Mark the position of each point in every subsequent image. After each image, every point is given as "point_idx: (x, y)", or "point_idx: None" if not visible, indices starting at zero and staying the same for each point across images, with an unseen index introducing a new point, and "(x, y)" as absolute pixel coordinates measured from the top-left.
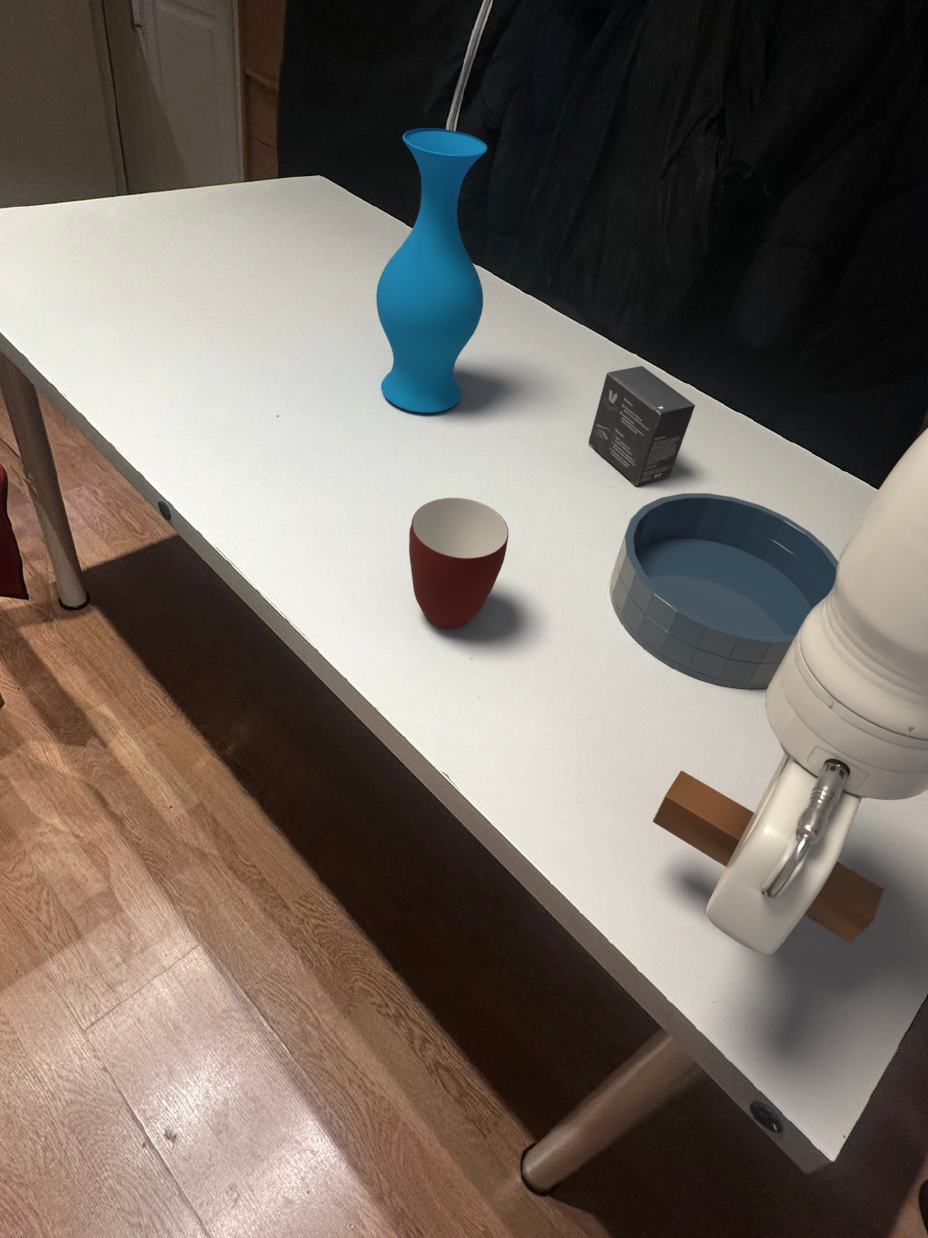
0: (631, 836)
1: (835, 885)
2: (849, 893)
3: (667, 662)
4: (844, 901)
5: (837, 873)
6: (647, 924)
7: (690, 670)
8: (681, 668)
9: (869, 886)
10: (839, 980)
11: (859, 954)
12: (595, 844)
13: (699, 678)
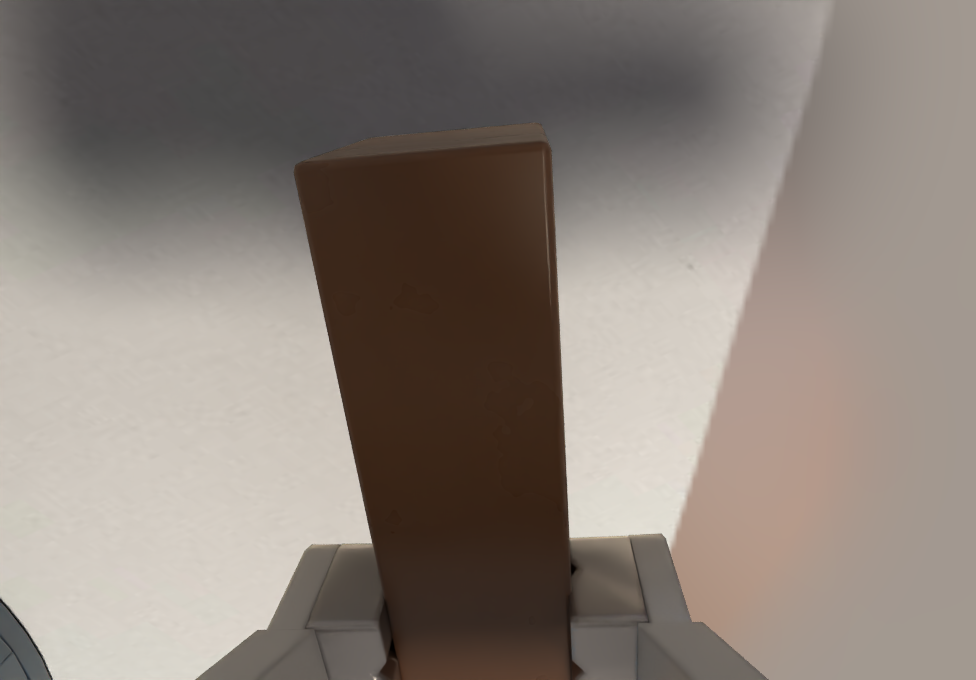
0: None
1: (490, 383)
2: (483, 314)
3: (41, 672)
4: (550, 319)
5: (414, 397)
6: (619, 446)
7: (10, 642)
8: (25, 652)
9: (352, 242)
10: (424, 36)
11: (313, 19)
12: None
13: (6, 614)
